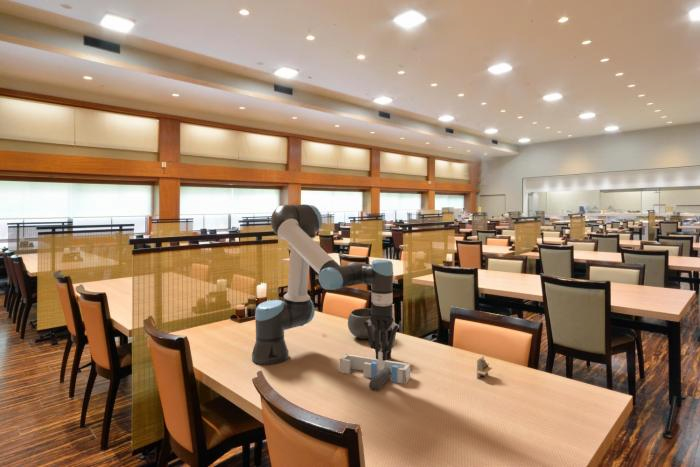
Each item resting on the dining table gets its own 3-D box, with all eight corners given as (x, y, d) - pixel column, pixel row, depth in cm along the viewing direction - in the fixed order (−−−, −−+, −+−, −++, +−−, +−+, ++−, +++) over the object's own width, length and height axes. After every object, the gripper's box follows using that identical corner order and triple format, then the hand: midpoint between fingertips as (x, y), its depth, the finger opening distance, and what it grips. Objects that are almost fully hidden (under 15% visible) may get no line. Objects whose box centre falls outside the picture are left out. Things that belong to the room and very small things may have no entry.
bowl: (390, 335, 196) (391, 310, 196) (373, 346, 181) (373, 318, 180) (360, 329, 206) (360, 305, 205) (340, 339, 191) (340, 313, 190)
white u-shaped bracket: (339, 372, 152) (339, 358, 152) (346, 366, 158) (346, 352, 158) (405, 384, 141) (405, 368, 141) (410, 377, 147) (410, 362, 147)
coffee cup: (392, 363, 160) (392, 331, 160) (372, 362, 162) (372, 330, 161) (394, 355, 169) (394, 325, 168) (375, 354, 171) (375, 324, 170)
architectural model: (492, 377, 148) (492, 357, 148) (484, 383, 143) (484, 363, 142) (483, 374, 150) (483, 355, 150) (475, 380, 145) (475, 361, 145)
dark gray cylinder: (380, 391, 135) (379, 380, 135) (369, 391, 137) (368, 379, 137) (391, 378, 146) (390, 367, 146) (381, 377, 148) (380, 367, 148)
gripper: (360, 304, 140) (360, 369, 142) (396, 308, 135) (395, 375, 137) (368, 299, 147) (368, 361, 149) (402, 303, 142) (401, 367, 143)
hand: (381, 368), depth 143 cm, fingers closed
